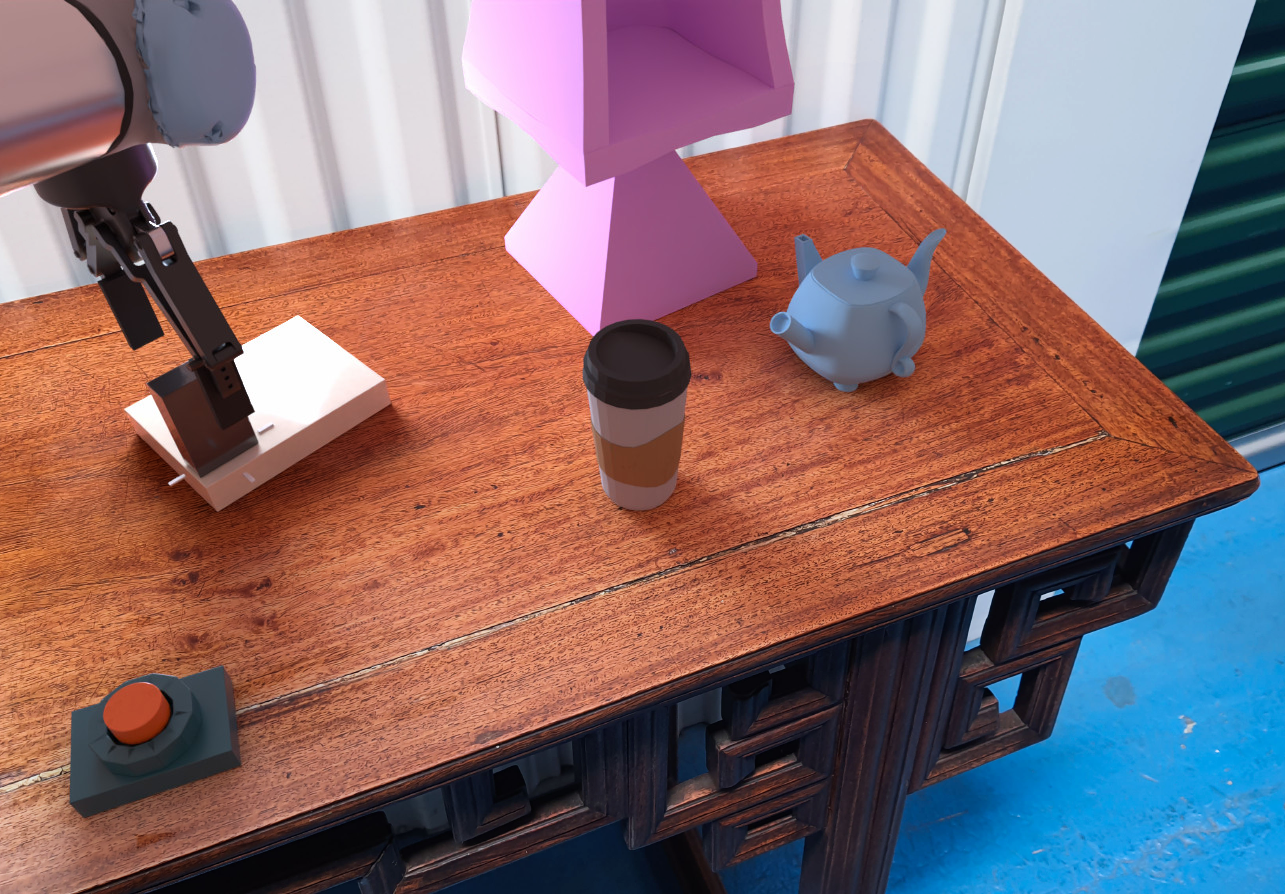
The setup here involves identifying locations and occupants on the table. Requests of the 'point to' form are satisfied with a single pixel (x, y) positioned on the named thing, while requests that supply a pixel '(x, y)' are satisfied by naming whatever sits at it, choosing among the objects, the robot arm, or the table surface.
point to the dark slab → (197, 422)
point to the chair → (628, 139)
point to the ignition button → (137, 713)
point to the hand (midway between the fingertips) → (190, 378)
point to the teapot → (857, 312)
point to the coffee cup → (637, 409)
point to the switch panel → (278, 409)
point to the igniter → (155, 744)
